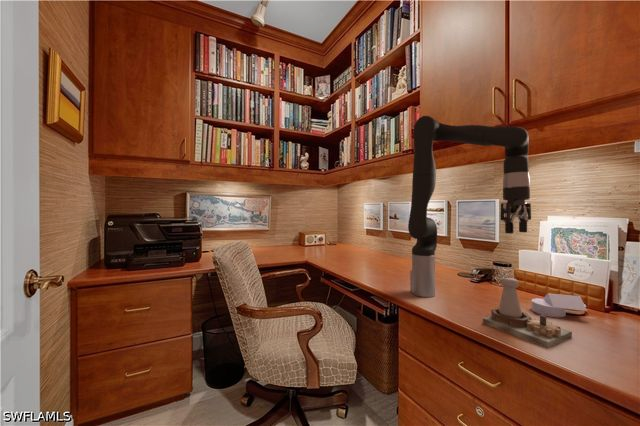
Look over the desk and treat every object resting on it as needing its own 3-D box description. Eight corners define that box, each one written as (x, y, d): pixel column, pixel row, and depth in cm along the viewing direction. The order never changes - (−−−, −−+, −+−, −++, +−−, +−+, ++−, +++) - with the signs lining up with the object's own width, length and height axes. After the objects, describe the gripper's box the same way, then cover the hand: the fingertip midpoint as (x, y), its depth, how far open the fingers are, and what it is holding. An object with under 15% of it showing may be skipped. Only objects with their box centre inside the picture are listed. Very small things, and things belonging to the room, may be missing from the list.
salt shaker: (519, 325, 77) (519, 282, 77) (496, 319, 81) (496, 278, 81) (523, 319, 81) (523, 278, 81) (501, 314, 85) (501, 275, 85)
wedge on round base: (573, 311, 91) (528, 306, 97) (573, 292, 91) (528, 288, 97) (587, 321, 83) (536, 314, 88) (587, 300, 83) (536, 295, 88)
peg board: (482, 323, 82) (482, 305, 82) (506, 315, 88) (506, 298, 88) (548, 347, 67) (548, 326, 67) (571, 336, 73) (571, 316, 73)
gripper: (515, 188, 96) (515, 231, 96) (492, 186, 90) (492, 233, 90) (539, 186, 90) (539, 232, 90) (516, 184, 83) (516, 234, 83)
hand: (516, 232), depth 90 cm, fingers open, 8 cm apart
